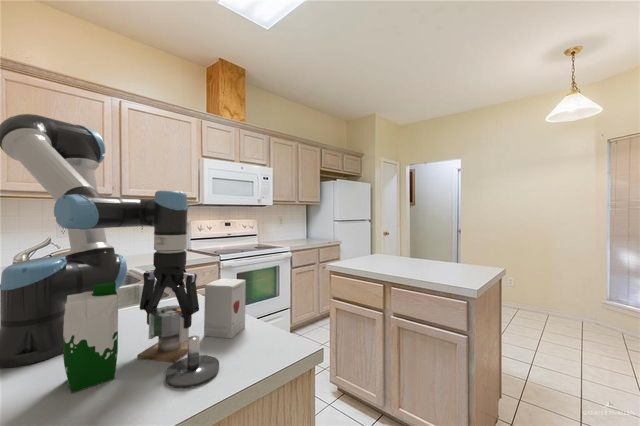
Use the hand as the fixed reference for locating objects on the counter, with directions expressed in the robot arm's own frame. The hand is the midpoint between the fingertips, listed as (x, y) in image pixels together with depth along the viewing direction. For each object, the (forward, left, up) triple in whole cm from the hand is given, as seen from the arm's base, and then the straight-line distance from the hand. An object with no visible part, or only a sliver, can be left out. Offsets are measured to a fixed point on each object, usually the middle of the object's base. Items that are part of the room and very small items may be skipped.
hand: (168, 338), depth 74 cm
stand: (0, 0, -3) cm, 3 cm away
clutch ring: (0, 0, +2) cm, 2 cm away
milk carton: (-8, -14, -3) cm, 16 cm away
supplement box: (+8, +14, -3) cm, 17 cm away
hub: (+12, -8, -3) cm, 15 cm away
